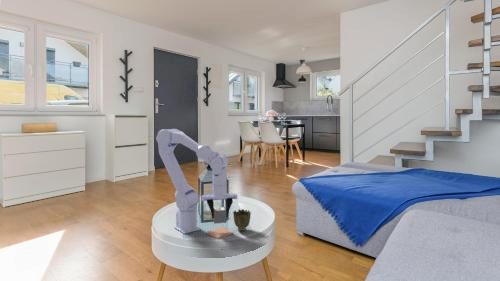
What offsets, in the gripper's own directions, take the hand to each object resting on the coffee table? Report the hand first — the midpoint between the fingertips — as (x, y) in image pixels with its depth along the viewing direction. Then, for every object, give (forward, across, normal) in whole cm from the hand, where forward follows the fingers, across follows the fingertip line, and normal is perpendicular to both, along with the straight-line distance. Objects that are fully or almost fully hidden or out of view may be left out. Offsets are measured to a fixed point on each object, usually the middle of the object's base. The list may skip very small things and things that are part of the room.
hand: (219, 217), depth 116 cm
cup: (+7, -10, -1) cm, 12 cm away
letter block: (+2, 0, 0) cm, 2 cm away
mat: (+7, 0, 0) cm, 7 cm away
